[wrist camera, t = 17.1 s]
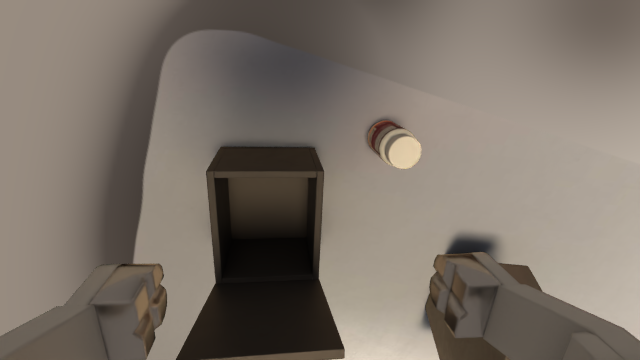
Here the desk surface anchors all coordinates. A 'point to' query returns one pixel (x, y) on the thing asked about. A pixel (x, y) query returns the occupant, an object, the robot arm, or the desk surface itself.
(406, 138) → the pill bottle
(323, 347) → the brown box lid
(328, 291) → the desk surface
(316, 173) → the dark wooden chest
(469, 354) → the brown hexagonal block
